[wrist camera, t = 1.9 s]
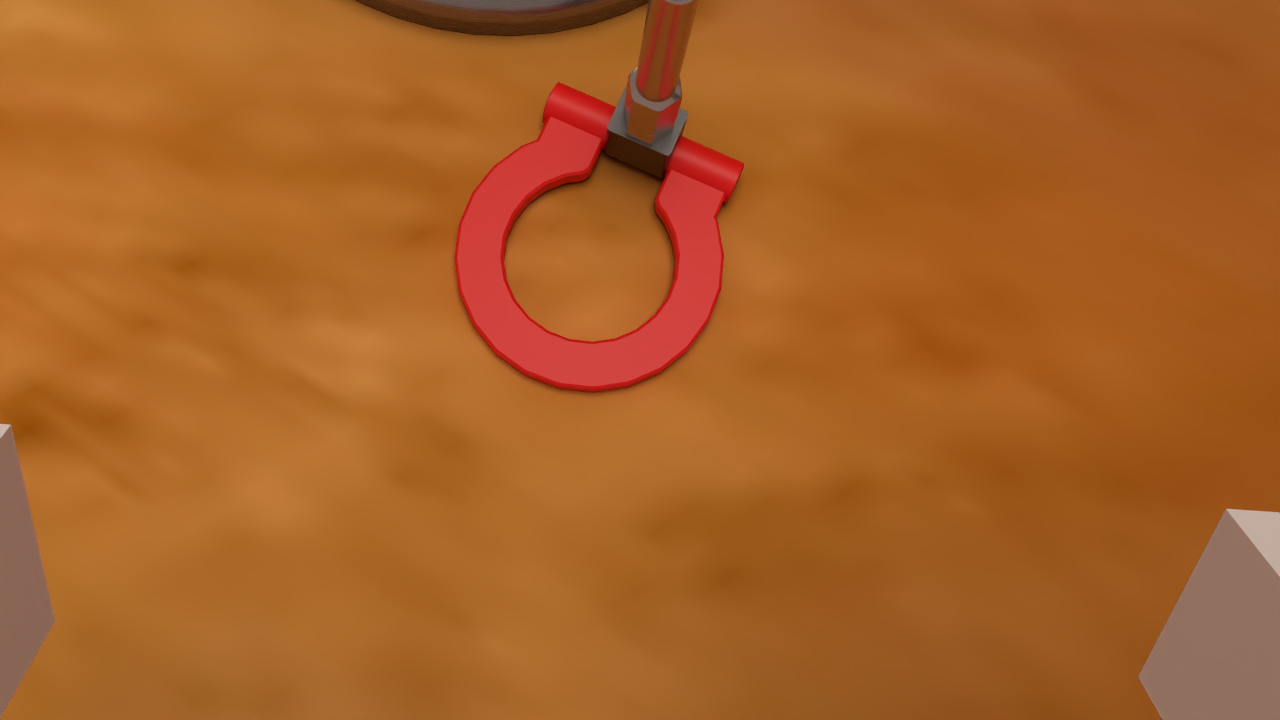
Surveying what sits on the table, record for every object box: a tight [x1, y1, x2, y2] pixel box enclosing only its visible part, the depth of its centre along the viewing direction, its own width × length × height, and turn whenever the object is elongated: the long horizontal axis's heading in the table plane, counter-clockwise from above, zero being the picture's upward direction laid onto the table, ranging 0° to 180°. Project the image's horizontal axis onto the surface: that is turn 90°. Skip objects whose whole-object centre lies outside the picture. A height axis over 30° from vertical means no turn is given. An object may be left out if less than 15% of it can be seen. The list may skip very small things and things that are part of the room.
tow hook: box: [455, 0, 744, 393], centre depth 29 cm, size 8×13×9 cm
